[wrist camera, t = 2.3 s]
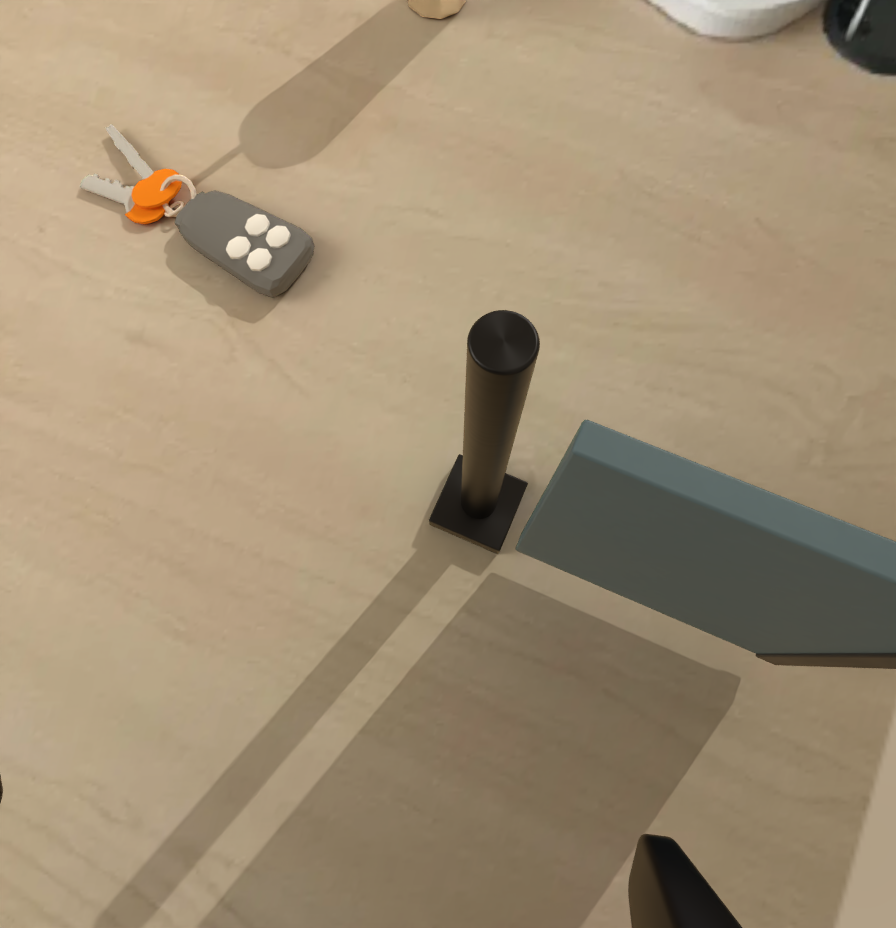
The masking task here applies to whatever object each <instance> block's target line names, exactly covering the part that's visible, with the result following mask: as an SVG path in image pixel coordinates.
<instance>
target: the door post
mask: <svg viewBox="0 0 896 928" xmlns="http://www.w3.org/2000/svg"><path fill="white" fill-rule="evenodd" d="M539 348H540V341H539V336H538V333H537V331H536V329H535V327H534V326H533V324H532V323H531V322H530V321H529V320H528V319H527V318H525V317H524V316H522V315H521V314H518V313H516V312H513V311H507V310H499V311H494V312H490V313H488V314H486V315H484V316H482V317H481V318H480V319H478V320H477V321H476V322H475V323H474V325H473V326H472V328H471V329H470V332H469V335H468V340H467V363H466V388H465V413H464V439H463V455H460V454H459V455H458V457H457V459H456V462H455V464H454V466H453V468H452V470H451V473H450V475H449V477H448V479H447V481H446V484H445V486H444V488H443V490H442V492H441V495H440V497H439V499H438V501H437V503H436V506H435V508H434V510H433V512H432V514H431V517H430V519H429V523H430V525H432V526H434V527H436V528H439V529H441V530H443V531H445V532H448V533H450V534H452V535H455V536H457V537H459V538H462V539H464V540H466V541H469V542H471V543H473V544H475V545H478V546H480V547H482V548H485V549H487V550H489V551H492V552H494V553H496V554H498V553H499V552H500V549H501V547H502V545H503V542H504V540H505V537H506V535H507V533H508V530H509V528H510V525H511V523H512V521H513V518H514V516H515V513H516V511H517V509H518V506H519V504H520V501H521V499H522V497H523V494H524V492H525V489H526V487H527V485H528V483H527V482H525V481H523V480H521V479H518V478H516V477H513V476H511V475H509V474H506V473H505V472H506V468H507V465H508V461H509V457H510V454H511V450H512V447H513V443H514V439H515V436H516V432H517V428H518V425H519V421H520V418H521V414H522V410H523V407H524V403H525V400H526V396H527V392H528V389H529V385H530V381H531V378H532V374H533V371H534V367H535V363H536V360H537V356H538V352H539Z"/></svg>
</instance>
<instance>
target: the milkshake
mask: <svg viewBox="0 0 896 928" xmlns="http://www.w3.org/2000/svg"><path fill="white" fill-rule="evenodd" d="M465 2H466V0H408V5H409V7H410V8H411V9H413V10H414V11H415V12H416V13H418V14H419V15H420V16H422V17H427V18H435V19H443V18H445V17H448V16H450V15H453V14H456V13H458V12H459V10H460V9H461V7H462V6H463V5H464V3H465Z"/></svg>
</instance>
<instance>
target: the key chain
mask: <svg viewBox="0 0 896 928" xmlns="http://www.w3.org/2000/svg"><path fill="white" fill-rule="evenodd" d="M105 129H106V130H107V132H108V133H109V135H110V136H111V138H112V139H113V141H114V142H115V143H114V144H115V146H116V147H117V148H118V150H119V151H120V152H122V153H123V154H124V155H125V157H126V158H127V159H128V160H127V161H128V162H129V164H130V165H131V166H132V167H133V169H134V168H135V169H136V171H137V172H138V173H139V174H140V176H141V177H142V178H143V179H144V180H141V181H139V182H138V183H137V184H136V185H135V186H131V187H129V186H127V185H126V187H125V188H123V184H121V183H120V181H119V180H116V179H115V181H114V182H113V183H110V182H111V180H110V179H108V178H106V179H105V180H102V179H99V175H97V174H94V175H93V176H91V175H87V176H86V177H85V178H84V179H82V181H81V185H80V188H82V189H84V190H87V191H89V192H92V193H95V194H97V195H100V196H103V197H105V198H108V199H111V200H113V201H116V202H119V203H121V204H124V206H125V209H126V212H127V213H126V214H125V215H126V217H128V218H129V219H130V220H132V221H133V222H134V223H141V224H148V223H152V222H155V221H158V220H159V219H160V218H161V217H162V216H163V215H164V214H165V216H167V217H176V220H175V224H176V225H177V227H178V228H179V231H180V233H181V234H182V236H183V238H184V239H185V240H186V241H187V242H188V243H189V244H190V245H191V246H192V247H193V248H194V249H195V250H197V251H198V252H200V253H201V254H203V255H204V256H206V257H207V258H209V259H210V260H211V261H213V262H214V263H216V264H217V265H219V266H220V267H222V268H223V269H225V270H226V271H227V272H229V273H230V274H232V275H233V276H235V277H236V278H238V279H239V280H241V281H242V282H244V283H245V284H247V285H248V286H250V287H251V288H253V289H254V290H256V291H257V292H259V293H261V294H264V295H267V296H270V297H275V296H277V295H279V294H281V293H283V292H284V291H286V290H287V289H288V288H289V287H290V286H291V285H292V283H293V282H294V281H295V280H296V279H297V278H298V277H299V275H300V274H301V273H302V271H303V270H304V268H305V267H306V266H307V264H308V263H309V262H310V260H311V258H312V255H313V252H314V243H313V240H312V238H311V237H310V236H309V235H308V234H307V233H306V232H304V231H303V230H302V229H301V228H299V227H297V226H295V225H292V224H290V223H288V222H286V221H284V220H282V219H280V218H278V217H276V216H274V215H272V214H270V213H268V212H266V211H263V210H261V209H259V208H257V207H255V206H253V205H251V204H248V203H246V202H244V201H242V200H240V199H238V198H236V197H234V196H231V195H229V194H226V193H223V192H219V191H211V192H207V193H204V192H201V193H199V194H197V195H196V189H195V187H194V185H193V184H192V182H191V181H190V180H189V179H188V178H186V177H185V176H183V175H179V174H178V173H177V172H175V171H174V170H171V169H162V170H158V171H155V172H153V171H152V170H151V168H150V167H149V166H148V165H147V163H146V162H145V161H144V160H142V159H141V158H140V157H139V156H140V155H139V153H138V152H137V151H136V150H135V149H134V147H133V146H132V145H131V144H129V143H128V142H127V140H126V139H125V138H124V137H123V136H122V135H121V134H120V133H119V131H118V130H117V129H116V128H115V127H114V126H113V125H110V126H109V127H106V128H105ZM182 182H184V183H185V184H186V185H187V186H188V187H189V189H190V191H191V200H190V201H189V202H188V203H187V204H186V205H185V206H184V202H182V201H177V202H175V203H173V204H171V205H170V206H168V205H169V201H170V200H171V199H172V198H174V197H175V196H176V195H177V193H178V192H179V190H180V189H181V184H182ZM177 205H180V207H179V208H178V209H176V210H175V211H174V210H172V208H174V207H175V206H177ZM183 207H184V208H183Z"/></svg>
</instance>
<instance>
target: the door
mask: <svg viewBox="0 0 896 928" xmlns="http://www.w3.org/2000/svg"><path fill="white" fill-rule="evenodd" d="M516 550H517V551H519V552H521V553H523V554H526V555H528V556H530V557H533V558H535V559H537V560H540V561H542V562H544V563H547V564H549V565H551V566H554V567H556V568H558V569H561V570H563V571H565V572H568V573H570V574H572V575H575V576H577V577H579V578H582V579H584V580H586V581H588V582H591V583H593V584H595V585H598V586H600V587H602V588H605V589H607V590H609V591H612V592H614V593H616V594H619V595H621V596H623V597H626V598H628V599H630V600H633V601H635V602H637V603H640V604H642V605H644V606H647V607H649V608H651V609H654V610H656V611H658V612H661V613H663V614H665V615H668V616H670V617H672V618H675V619H677V620H679V621H681V622H684V623H686V624H688V625H691V626H693V627H695V628H698V629H700V630H702V631H705V632H707V633H709V634H712V635H714V636H716V637H719V638H721V639H723V640H726V641H728V642H730V643H733V644H735V645H737V646H740V647H742V648H744V649H747V650H749V651H751V652H754V653H756V656H757V657H758V658H760V659H763V660H765V661H767V662H770V663H772V664H774V665H792V666H824V667H856V668H888V669H896V542H895V541H893V540H890V539H888V538H885V537H883V536H880V535H878V534H875V533H872V532H870V531H867V530H865V529H862V528H860V527H857V526H855V525H852V524H850V523H847V522H845V521H842V520H840V519H837V518H835V517H832V516H829V515H827V514H824V513H822V512H819V511H817V510H814V509H812V508H809V507H807V506H804V505H802V504H799V503H797V502H794V501H792V500H789V499H787V498H784V497H781V496H779V495H776V494H774V493H771V492H769V491H766V490H764V489H761V488H759V487H756V486H754V485H751V484H749V483H746V482H744V481H741V480H739V479H736V478H733V477H731V476H728V475H726V474H723V473H721V472H718V471H716V470H713V469H711V468H708V467H706V466H703V465H701V464H698V463H696V462H693V461H690V460H688V459H685V458H683V457H680V456H678V455H675V454H673V453H670V452H668V451H665V450H663V449H660V448H658V447H655V446H653V445H650V444H648V443H645V442H642V441H640V440H637V439H635V438H632V437H630V436H627V435H625V434H622V433H620V432H617V431H615V430H612V429H610V428H607V427H605V426H602V425H599V424H597V423H594V422H592V421H589V420H584V421H583V422H582V424H581V426H580V427H579V429H578V431H577V433H576V435H575V436H574V438H573V440H572V442H571V444H570V446H569V447H568V449H567V451H566V453H565V455H564V457H563V458H562V460H561V462H560V464H559V466H558V468H557V469H556V471H555V473H554V475H553V477H552V479H551V480H550V482H549V484H548V486H547V488H546V489H545V491H544V493H543V495H542V497H541V499H540V500H539V502H538V504H537V506H536V508H535V510H534V511H533V513H532V515H531V517H530V519H529V521H528V522H527V524H526V526H525V528H524V530H523V532H522V534H521V536H520V538H519V541H518V543H517V546H516Z"/></svg>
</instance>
